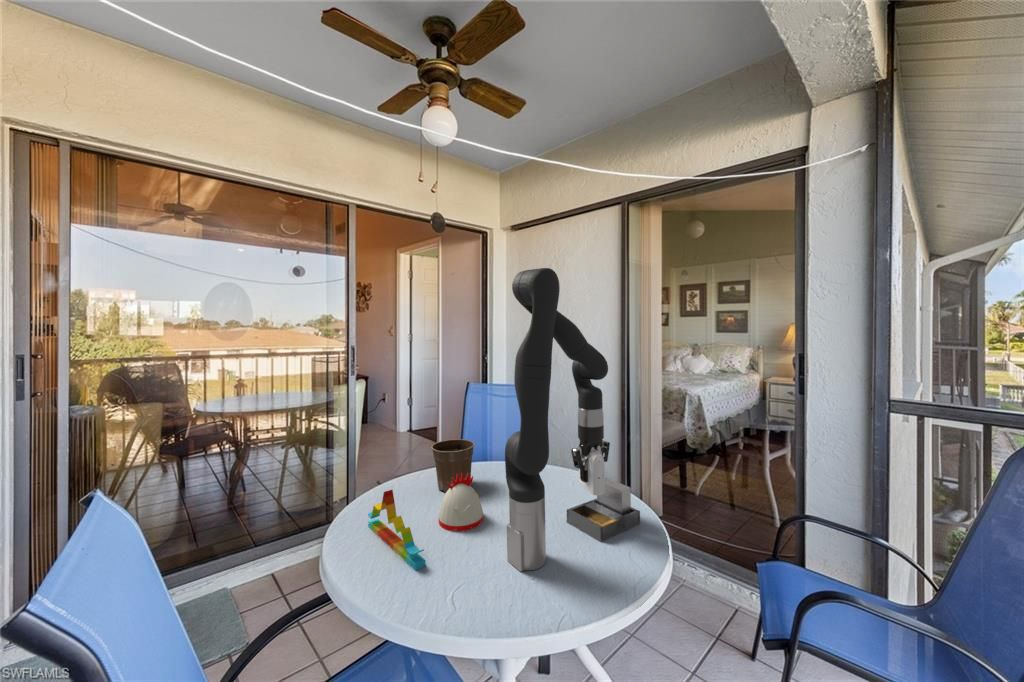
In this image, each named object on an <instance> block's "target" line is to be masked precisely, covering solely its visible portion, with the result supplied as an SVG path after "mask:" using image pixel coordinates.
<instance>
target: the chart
mask: <svg viewBox="0 0 1024 682" xmlns="http://www.w3.org/2000/svg"><path fill="white" fill-rule="evenodd" d="M393 491H394V489H390V490H386V491H383V494H382V495H383V496H382V501H381V502H379V503H376V504H374V505H373V508H372V511H371V512H368V513H367V516H368V517H369V518H370V519H371V520H368V521H367V526H368V528H369V529H370V530H372V532H374V534H375V535H377V537H379V538H380V539H381V540H382V541H383V542H384V543H385V544H386V545H387V546H388V547H390V548H391V550H393V551H394V552H395V553H396V554H397V555H398V556H399V557H400V558H401V559H402V560H403V561H405V563H406V564H408V565H409V566H410V567H411V568H412V569H413V570H414V571H417V570H419V569H421V568H423V567H426V566H427V565H426V564H427V563H426V559H425V558H424V556H422V555H421V554H419V553H422V552H424V551H425V550H424V548H423V549H420V548H418V547H417V546H416V544H415V541H414V538H413V534H412V530H411V527H410V526H408V527H406V526H405V522H404V520H403V517H402V515H398V516H397V510H396V503H395V498H394V492H393ZM384 510H386V516H387V522H388V523H387V524H388V525H390V524H392V523H393V525H394V529H395V532H396V533H395V532H394V531H393V530H391V528H389V526H387V525H386V524H384V522H382V521H381V519H379V518H378V517H380V515H381V511H384ZM368 523H369V524H368ZM399 533H401V534H400V535H401V537H400V536H398V534H399Z"/></svg>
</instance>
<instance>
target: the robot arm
mask: <svg viewBox="0 0 1024 682" xmlns="http://www.w3.org/2000/svg"><path fill="white" fill-rule="evenodd" d="M560 288H561V287H560V280H559V277H558V275H557V273H556V271H554V270H553V268H550V267H540V268H535V269H534V268H532V269H526V270H522V271H520V272H517V273H516V275H515V276H514V277H513V279H512V284H511V289H512V293H513V296H514V298H515V299H516V300H517V302H519V304H520V305H521V306H522V307H523V308H524V309H525V310H527V311H528V312H529V314H531V320H530V324H529V328H528V331H527V333H526V335H525V336H524V338H523V340H522V342H521V343H520V345H519V347H518V350H517V353H516V357H515V363H514V378H513V379H514V383H513V384H514V390H515V394H516V399H517V404H518V409H519V413H520V416H519V417H520V426H519V427H520V428H519V431H516V432H514V433H513V434H511V435H510V436H509V438H508V439H507V441H506V444H505V448H504V462H505V463H504V464H505V465H504V467H505V479H506V480H505V481H506V485H507V488H508V495H509V497H508V499H509V500H508V501H509V503H508V505H509V524H507V525H506V553H507V554H506V556H507V557H506V559H507V560H506V561H507V562H508V563H510V564H511V566H513V567H514V568H516V569H517V570H518V571H519V572H523V571H534V570H538V569H540V568H542V567H543V566H544V565H545V564H546V561H547V552H546V551H547V546H546V543H547V541H546V490H545V484H544V482H543V479H542V478H541V475H540V473H541V472H543V470H544V469H545V468H546V466H547V464H548V461H549V458H550V457H549V456H550V439H549V409H550V408H549V407H550V392H551V390H550V389H551V380H552V379H551V378H552V360H553V359H552V358H553V357H552V356H553V343H554V341H555V342H556V343H557V344H558V345H559V347H560V348H561V350H562V351H563V352H564V354H565V356H566V357H567V358H568V359H570V360H572V364H571V373H572V377H573V381H574V385H575V387H576V392H577V395H578V396H577V397H578V399H577V402H578V403H577V405H578V406H577V407H578V409H577V438H578V439H579V444H578V447H576V448H574V447H572V448H571V450H570V451H571V452H570V453H571V457H572V461H573V466H574V467H575V468H576V469H578V470H579V469H580V479H581V481H583V482H585V483H586V482H588V470H587V468H588V462H589V455H590V453H591V452H592V451H594V449H596V450H597V451H598V452H599V453H600V454H601V455H602V457H603V458H604V463H607V462H608V460H609V453H610V452H609V451H610V445H611V443H610V442H609V441H607V440H604V439H605V433H604V432H605V429H604V428H605V425H604V424H605V423H604V421H605V420H604V419H605V418H604V409H603V408H604V407H603V406H604V404H603V391H602V389H601V388H599V387H598V386H595V385H594V384H593V383H592V380H594V381H600V380H601V381H602V380H603V379H604V378H605V377H606V376H607V375H608V372H609V365H608V361H607V360H606V357H605V356H604V355H603V354H602V353H601V352H600V351H599V350H598V349H596V348H595V347H594V346H593V345H591V343H589V342H588V341H587V339H586V337H585V336H584V335H583V332H581V330H580V329H579V327H578V326H577V325H576V324H575V323H574V322H573V321H572V320H570V319H569V318H567V317H566V316H565V315H564V314H562V313H561V311H558V305H559V299H560V298H559V297H560ZM584 456H585V457H587V459H585V458H584ZM584 461H585V464H584ZM583 464H584V465H583Z"/></svg>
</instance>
